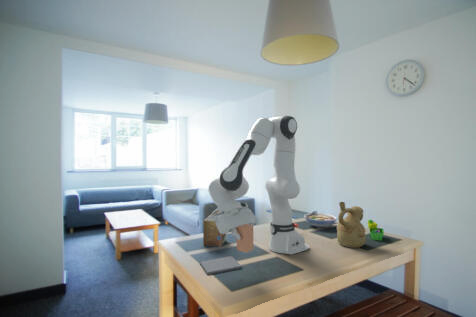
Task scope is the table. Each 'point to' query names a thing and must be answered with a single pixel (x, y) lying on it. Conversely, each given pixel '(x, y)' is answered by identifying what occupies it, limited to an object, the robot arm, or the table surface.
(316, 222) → the ramen bowl
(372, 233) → the fruit basket
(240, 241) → the block
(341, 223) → the ceramic vessel
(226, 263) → the mat
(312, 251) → the table surface
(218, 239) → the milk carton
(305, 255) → the table surface
